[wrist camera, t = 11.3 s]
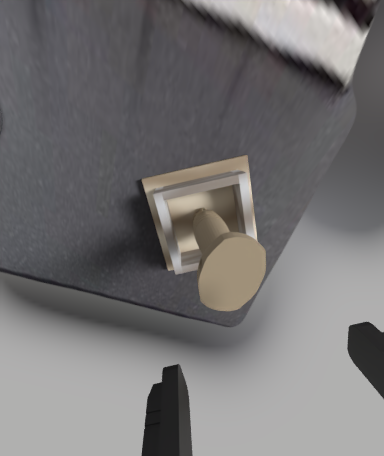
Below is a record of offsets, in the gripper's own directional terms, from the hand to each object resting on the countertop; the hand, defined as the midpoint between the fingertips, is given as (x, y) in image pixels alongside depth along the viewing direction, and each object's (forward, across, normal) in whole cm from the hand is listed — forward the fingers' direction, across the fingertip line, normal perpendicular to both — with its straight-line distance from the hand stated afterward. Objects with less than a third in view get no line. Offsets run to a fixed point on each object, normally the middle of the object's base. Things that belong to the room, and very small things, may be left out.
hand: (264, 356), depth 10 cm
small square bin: (+23, 0, 0) cm, 23 cm away
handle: (+22, 0, 0) cm, 22 cm away
